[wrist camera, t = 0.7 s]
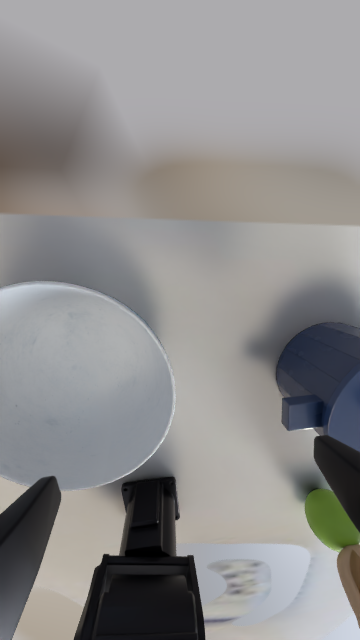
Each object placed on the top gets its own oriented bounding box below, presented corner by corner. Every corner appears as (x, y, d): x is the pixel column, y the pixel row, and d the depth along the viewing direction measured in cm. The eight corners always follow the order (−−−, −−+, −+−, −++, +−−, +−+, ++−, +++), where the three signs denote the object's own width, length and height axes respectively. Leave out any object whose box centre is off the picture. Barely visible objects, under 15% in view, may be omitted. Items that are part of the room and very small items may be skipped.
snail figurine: (289, 480, 26) (393, 653, 14) (337, 476, 26) (476, 640, 14) (286, 512, 27) (378, 695, 15) (331, 507, 27) (455, 682, 15)
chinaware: (178, 285, 19) (185, 292, 12) (167, 418, 22) (167, 491, 15) (14, 271, 18) (-96, 269, 10) (27, 414, 21) (-50, 491, 14)
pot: (382, 401, 24) (476, 456, 17) (252, 416, 23) (291, 481, 16) (397, 315, 21) (514, 335, 14) (252, 330, 21) (297, 359, 13)
